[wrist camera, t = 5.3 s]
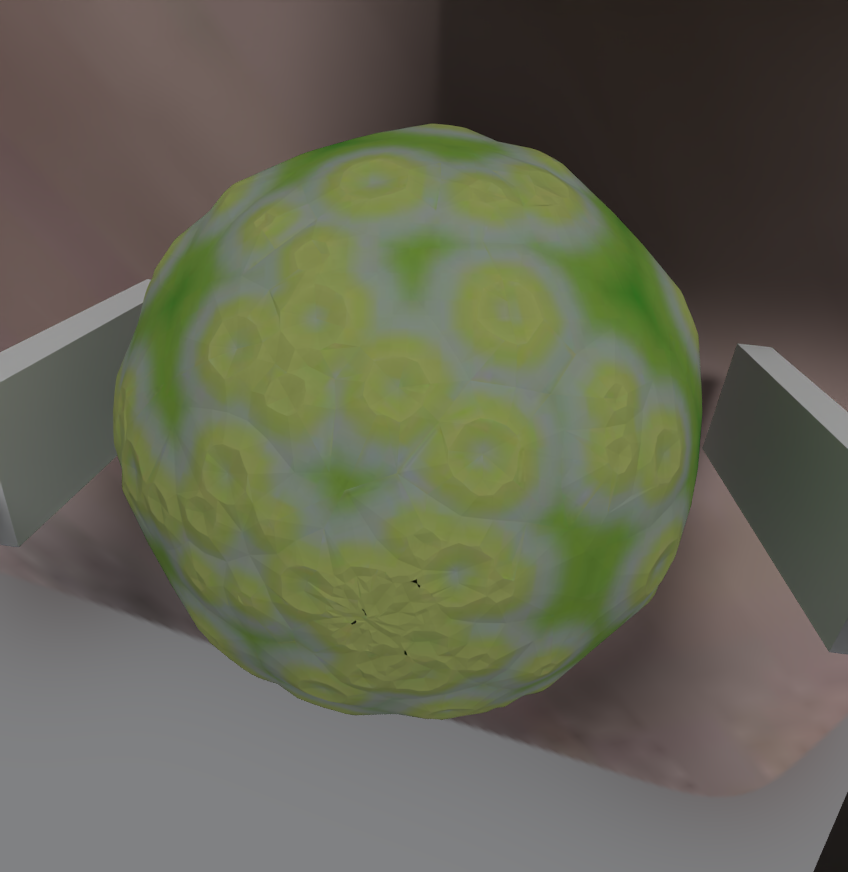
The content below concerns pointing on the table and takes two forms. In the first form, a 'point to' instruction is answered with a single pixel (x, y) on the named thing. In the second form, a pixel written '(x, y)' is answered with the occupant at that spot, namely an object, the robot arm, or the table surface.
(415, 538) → the decorative ball
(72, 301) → the table surface
